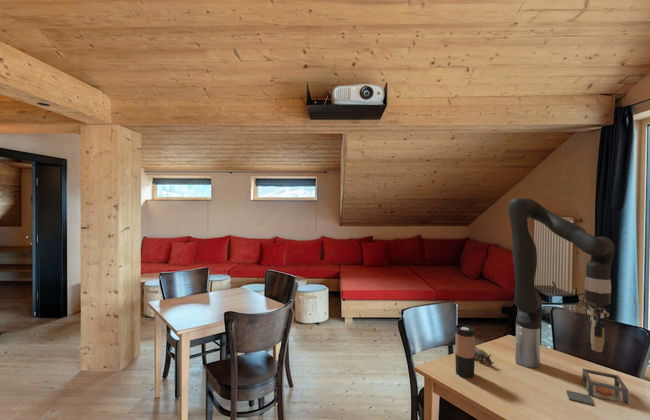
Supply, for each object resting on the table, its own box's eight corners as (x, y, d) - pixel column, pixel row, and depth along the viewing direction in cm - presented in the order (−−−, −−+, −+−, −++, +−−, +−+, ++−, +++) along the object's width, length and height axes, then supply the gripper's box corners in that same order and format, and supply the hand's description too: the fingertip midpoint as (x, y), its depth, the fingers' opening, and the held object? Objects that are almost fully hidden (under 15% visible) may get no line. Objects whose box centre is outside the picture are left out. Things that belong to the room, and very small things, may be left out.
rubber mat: (569, 400, 116) (569, 398, 116) (566, 391, 121) (566, 390, 121) (593, 405, 112) (593, 404, 112) (589, 396, 117) (589, 395, 117)
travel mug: (466, 380, 128) (466, 332, 128) (451, 372, 135) (451, 326, 135) (478, 376, 132) (479, 329, 132) (463, 367, 139) (463, 323, 138)
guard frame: (589, 395, 118) (589, 381, 118) (582, 381, 128) (582, 368, 128) (628, 404, 113) (628, 390, 113) (618, 388, 123) (618, 375, 122)
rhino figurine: (490, 370, 137) (490, 356, 137) (464, 356, 149) (465, 343, 149) (496, 368, 139) (497, 354, 138) (471, 354, 151) (471, 342, 151)
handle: (611, 354, 116) (612, 314, 116) (592, 353, 117) (593, 313, 117) (601, 348, 121) (602, 309, 121) (583, 347, 122) (584, 309, 121)
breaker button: (597, 392, 119) (597, 388, 119) (593, 385, 124) (593, 382, 124) (614, 396, 117) (614, 392, 117) (610, 389, 121) (610, 385, 121)
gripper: (580, 284, 127) (579, 326, 127) (589, 292, 114) (588, 339, 114) (604, 286, 123) (603, 329, 123) (617, 295, 110) (615, 343, 111)
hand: (596, 334), depth 119 cm, fingers closed on handle, 4 cm apart
